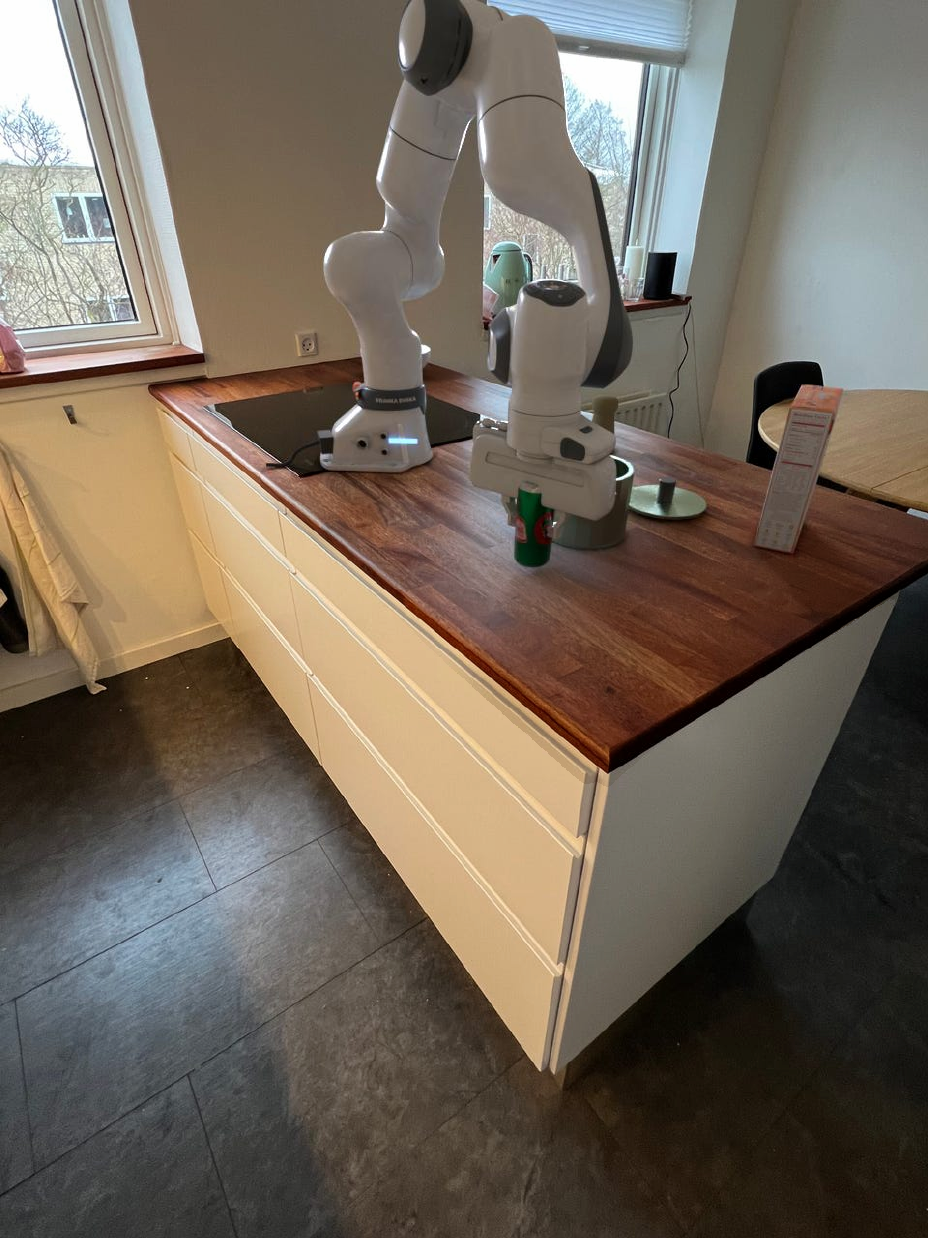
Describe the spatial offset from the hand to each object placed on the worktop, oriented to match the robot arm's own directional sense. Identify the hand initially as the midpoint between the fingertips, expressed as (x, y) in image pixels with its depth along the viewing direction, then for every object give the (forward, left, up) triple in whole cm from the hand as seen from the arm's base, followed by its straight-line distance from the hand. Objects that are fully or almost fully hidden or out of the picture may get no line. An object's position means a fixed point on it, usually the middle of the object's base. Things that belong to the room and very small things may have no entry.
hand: (534, 531), depth 86 cm
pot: (+10, +11, -6) cm, 16 cm away
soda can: (0, 0, -5) cm, 5 cm away
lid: (+27, +19, -5) cm, 33 cm away
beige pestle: (+24, +49, -6) cm, 55 cm away
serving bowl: (-16, +125, -6) cm, 126 cm away
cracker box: (+40, +7, -6) cm, 41 cm away
